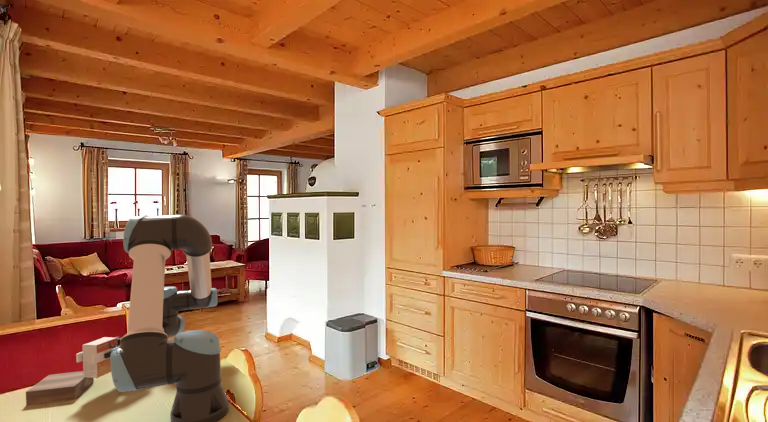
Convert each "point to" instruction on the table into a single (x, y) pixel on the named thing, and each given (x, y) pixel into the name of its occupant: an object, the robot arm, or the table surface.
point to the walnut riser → (58, 388)
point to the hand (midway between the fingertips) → (85, 358)
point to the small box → (94, 348)
